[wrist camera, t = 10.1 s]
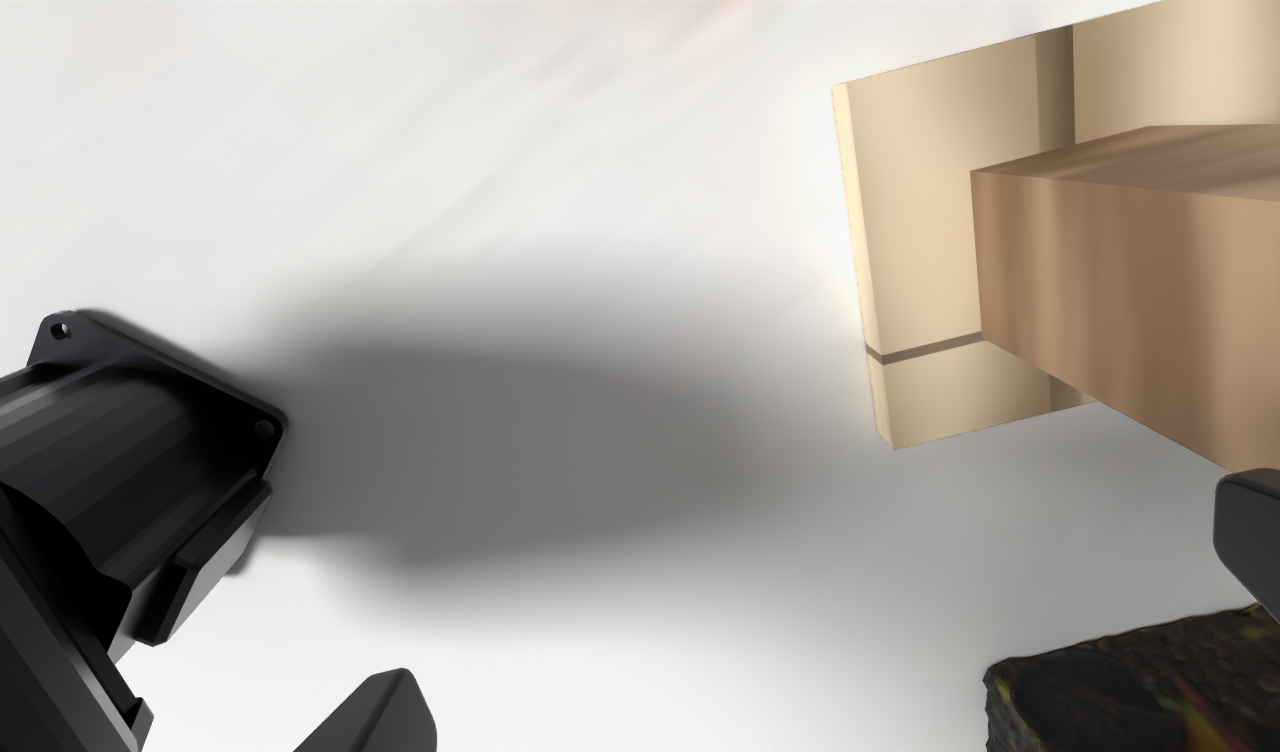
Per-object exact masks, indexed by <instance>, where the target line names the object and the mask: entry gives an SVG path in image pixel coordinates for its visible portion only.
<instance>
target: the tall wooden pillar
mask: <svg viewBox="0 0 1280 752" xmlns="http://www.w3.org/2000/svg"><path fill="white" fill-rule="evenodd" d="M970 181H971V194H972V208H973V221H974V235H975V249H976V262H977V276H978V289H979V303H980V316H981V330H982V338H983V339H985V340H987V341H989V342H991V343H992V344H994V345H996V346H998V347H1000V348H1002V349H1004V350H1005V351H1007V352H1009V353H1011V354H1013V355H1015V356H1017V357H1018V358H1020V359H1022V360H1024V361H1026V362H1028V363H1030V364H1031V365H1033V366H1035V367H1037V368H1039V369H1041V370H1043V371H1044V372H1046V373H1048V374H1050V375H1052V376H1054V377H1056V378H1058V379H1059V380H1061V381H1063V382H1065V383H1067V384H1069V385H1071V386H1072V387H1074V388H1076V389H1078V390H1080V391H1082V392H1084V393H1085V394H1087V395H1089V396H1091V397H1093V398H1095V399H1097V400H1098V401H1100V402H1102V403H1104V404H1106V405H1108V406H1110V407H1111V408H1113V409H1115V410H1117V411H1119V412H1121V413H1123V414H1124V415H1126V416H1128V417H1130V418H1132V419H1134V420H1136V421H1138V422H1139V423H1141V424H1143V425H1145V426H1147V427H1149V428H1151V429H1152V430H1154V431H1156V432H1158V433H1160V434H1162V435H1164V436H1165V437H1167V438H1169V439H1171V440H1173V441H1175V442H1177V443H1178V444H1180V445H1182V446H1184V447H1186V448H1188V449H1190V450H1191V451H1193V452H1195V453H1197V454H1199V455H1201V456H1203V457H1205V458H1206V459H1208V460H1210V461H1212V462H1214V463H1216V464H1218V465H1219V466H1221V467H1223V468H1225V469H1227V470H1229V471H1231V472H1232V473H1238V472H1242V471H1247V470H1251V469H1255V468H1273V469H1278V470H1280V124H1240V125H1174V126H1146V127H1142V128H1138V129H1134V130H1130V131H1126V132H1122V133H1118V134H1114V135H1110V136H1106V137H1102V138H1098V139H1094V140H1090V141H1086V142H1082V143H1078V144H1074V145H1071V146H1067V147H1063V148H1059V149H1055V150H1051V151H1047V152H1043V153H1039V154H1035V155H1031V156H1027V157H1023V158H1019V159H1015V160H1011V161H1007V162H1003V163H999V164H995V165H991V166H987V167H983V168H980V169H976V170H972V171H970Z"/></svg>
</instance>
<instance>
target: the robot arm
mask: <svg viewBox="0 0 1280 752" xmlns="http://www.w3.org/2000/svg"><path fill="white" fill-rule="evenodd" d="M62 324H64V325H66V326H67V327H68V328H69V329H70V331H71V337H69V336H68V335H66V334H65V333H64V331H63V329H62ZM262 420H265V421H268V422H270V423H271V424H272V425H273V427H274V431H269V430H267V429H265V428H264V427H263V425H262ZM288 429H289V421H288V418H287V417H286V415H285V414H284V413H283V412H282V411H280V410H279V409H277V408H275V407H273V406H271V405H269V404H267V403H264V402H262V401H260V400H258V399H256V398H254V397H252V396H250V395H248V394H246V393H244V392H242V391H240V390H237V389H235V388H233V387H231V386H229V385H227V384H225V383H223V382H221V381H219V380H217V379H215V378H212V377H210V376H208V375H206V374H204V373H202V372H200V371H198V370H196V369H194V368H192V367H190V366H188V365H185V364H183V363H181V362H179V361H177V360H175V359H173V358H171V357H169V356H167V355H165V354H163V353H160V352H158V351H156V350H154V349H152V348H150V347H148V346H146V345H144V344H142V343H140V342H138V341H135V340H133V339H131V338H129V337H127V336H125V335H123V334H121V333H119V332H117V331H115V330H113V329H111V328H108V327H106V326H104V325H102V324H100V323H98V322H96V321H94V320H92V319H90V318H88V317H86V316H83V315H81V314H79V313H77V312H74V311H70V310H68V311H60V312H57V313H54V314H51V315H49V316H47V317H45V318H44V319H43V321H42V322H41V325H40V328H39V330H38V333H37V336H36V339H35V342H34V345H33V348H32V350H31V353H30V356H29V359H28V362H27V365H26V368H23V369H21V370H18V371H16V372H13V373H11V374H8V375H6V376H3V377H1V378H0V752H141V751H142V749H143V746H144V743H145V740H146V738H147V735H148V732H149V730H150V727H151V724H152V722H153V719H154V715H153V713H152V712H151V710H150V709H149V707H148V706H147V704H146V702H145V701H144V699H143V698H141V697H137V698H135V696H134V694H133V693H132V691H131V690H130V688H129V687H128V685H127V684H126V682H125V680H124V679H123V677H122V676H121V674H120V673H119V671H118V670H117V668H116V666H115V664H116V663H117V662H118V661H119V659H120V658H121V657H122V656H123V655H124V654H125V653H126V652H127V651H128V650H129V649H130V648H131V646H132V645H133V644H134V643H135V642H136V641H138V642H141V643H144V644H146V645H149V646H151V647H154V646H157V645H160V644H162V643H165V642H167V641H168V640H169V639H170V638H171V636H172V635H173V634H174V633H175V632H176V631H177V629H178V628H179V627H180V626H181V625H182V624H183V622H184V621H185V620H186V619H187V618H188V617H189V615H190V614H191V613H192V612H193V611H194V610H195V609H196V607H197V606H198V605H199V604H200V603H201V602H202V600H203V599H204V598H205V597H206V596H207V595H208V593H209V592H210V591H211V590H212V589H213V588H214V586H215V585H216V584H217V583H218V582H219V581H220V579H221V578H222V577H223V576H224V575H225V574H226V572H227V571H228V570H229V569H230V568H231V567H232V565H233V564H234V563H235V562H236V561H237V560H238V558H239V557H240V556H241V555H242V554H243V552H244V550H245V548H246V546H247V544H248V542H249V540H250V538H251V536H252V534H253V532H254V530H255V528H256V526H257V524H258V522H259V520H260V518H261V516H262V514H263V512H264V510H265V508H266V506H267V503H268V501H269V499H270V497H271V495H272V493H273V490H272V487H271V483H270V482H269V481H267V480H265V478H266V476H267V473H268V471H269V469H270V467H271V465H272V463H273V461H274V459H275V457H276V455H277V453H278V451H279V449H280V447H281V445H282V443H283V440H284V438H285V436H286V434H287V432H288ZM1213 544H1214V548H1215V550H1216V553H1217V555H1218V557H1219V558H1220V560H1221V561H1222V563H1223V564H1224V565H1225V566H1226V568H1227V569H1228V570H1229V571H1230V572H1231V573H1232V574H1233V575H1234V576H1235V577H1236V578H1237V579H1238V580H1239V581H1240V582H1241V584H1242V585H1243V586H1244V587H1245V588H1246V589H1247V590H1248V591H1249V592H1250V593H1251V594H1252V595H1253V596H1254V597H1255V599H1256V600H1257V601H1258V602H1259V603H1260V604H1261V605H1262V606H1263V607H1264V608H1265V609H1266V610H1267V611H1268V612H1269V613H1270V615H1271V616H1272V617H1273V618H1274V619H1275V620H1276V621H1277V622H1278V623H1279V624H1280V470H1278V469H1273V468H1255V469H1251V470H1247V471H1242V472H1238V473H1234V474H1230V475H1227V476H1225V477H1223V478H1221V479H1220V481H1219V482H1218V484H1217V486H1216V490H1215V507H1214V525H1213ZM436 751H437V731H436V726H435V722H434V719H433V717H432V714H431V712H430V710H429V708H428V706H427V703H426V701H425V699H424V697H423V695H422V692H421V690H420V688H419V686H418V684H417V681H416V679H415V677H414V676H413V674H412V673H411V672H410V671H409V670H408V669H405V668H398V669H394V670H390V671H386V672H381V673H377V674H374V675H371V676H370V677H368V678H367V679H366V680H365V681H364V682H363V683H362V684H361V685H360V686H359V687H358V688H357V689H356V690H355V691H354V692H353V693H352V694H351V695H350V696H349V697H348V698H347V699H346V700H345V701H344V702H343V703H342V704H341V705H340V706H339V707H338V708H337V709H336V710H335V711H334V712H333V713H332V714H331V715H330V716H329V717H328V718H326V719H325V720H324V721H323V722H322V723H321V724H320V725H319V726H318V727H317V728H316V729H315V730H314V731H313V732H312V733H311V734H310V735H309V736H308V737H307V738H306V739H305V740H304V741H303V742H302V743H301V744H300V745H299V746H298V747H297V748H296V749H295V750H294V751H293V752H436Z"/></svg>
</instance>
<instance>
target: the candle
mask: <svg viewBox="0 0 1280 752" xmlns="http://www.w3.org/2000/svg"><path fill="white" fill-rule="evenodd" d="M983 682H984V684H985V686H986V687H987V689H988V691H987V702H986V707H985V711H986V713H987V715H988V718H989V721H988V732H989V739H988V741H987V743H986V747H987V752H1280V624H1279V623H1278V622H1277V621H1276V620H1275V619H1274V618H1273V617H1272V616H1271V615H1270V613H1269V612H1268V611H1267V610H1266V609H1265V608H1264V607H1263V606H1262V605H1258V604H1257V605H1255V606H1253V607H1250V608H1248V609H1245V610H1243V611H1240V612H1238V611H1230V612H1224V613H1221V614H1218V615H1215V616H1212V617H1209V618H1188V619H1185V620H1182V621H1179V622H1176V623H1173V624H1170V625H1165V626H1160V627H1154V628H1147V629H1140V630H1137V631H1134V632H1132V633H1129V634H1126V635H1123V636H1120V637H1116V638H1110V637H1105V638H1103V639H1100V640H1097V641H1095V642H1092V643H1086V644H1080V645H1077V646H1075V647H1072V648H1068V649H1064V650H1059V651H1055V652H1051V653H1047V654H1043V655H1038V656H1033V657H1028V658H1021V659H1009V660H1006V661H1004V662H1002V663H1000V664H998V665H995V666H993V667H991V668H989V669H988V670H987V672H986V674H985V676H984V678H983Z"/></svg>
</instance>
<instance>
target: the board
mask: <svg viewBox="0 0 1280 752" xmlns="http://www.w3.org/2000/svg"><path fill="white" fill-rule="evenodd" d="M831 93H832V100H833V107H834V115H835V122H836V129H837V137H838V144H839V151H840V159H841V166H842V173H843V181H844V188H845V196H846V203H847V210H848V218H849V225H850V232H851V240H852V247H853V254H854V262H855V269H856V276H857V284H858V291H859V298H860V306H861V313H862V320H863V328H864V335H865V342H866V350H867V357H868V364H869V372H870V379H871V386H872V394H873V401H874V409H875V416H876V423H877V431H878V434H879V435H880V436H881V437H882V438H883V439H884V440H885V441H886V442H887V443H888V445H889V446H890V447H891V448H892V449H893V450H896V449H900V448H905V447H909V446H913V445H917V444H921V443H925V442H929V441H934V440H938V439H942V438H946V437H950V436H954V435H959V434H963V433H967V432H971V431H975V430H979V429H983V428H988V427H992V426H996V425H1000V424H1004V423H1008V422H1012V421H1017V420H1021V419H1025V418H1029V417H1033V416H1037V415H1042V414H1046V413H1050V412H1054V411H1058V410H1062V409H1066V408H1071V407H1075V406H1079V405H1083V404H1087V403H1091V402H1095V401H1098V400H1097V399H1095V398H1093V397H1091V396H1089V395H1087V394H1085V393H1084V392H1082V391H1080V390H1078V389H1076V388H1074V387H1072V386H1071V385H1069V384H1067V383H1065V382H1063V381H1061V380H1059V379H1058V378H1056V377H1054V376H1052V375H1050V374H1048V373H1046V372H1044V371H1043V370H1041V369H1039V368H1037V367H1035V366H1033V365H1031V364H1030V363H1028V362H1026V361H1024V360H1022V359H1020V358H1018V357H1017V356H1015V355H1013V354H1011V353H1009V352H1007V351H1005V350H1004V349H1002V348H1000V347H998V346H996V345H994V344H992V343H991V342H989V341H987V340H985V339H983V338H982V330H981V316H980V303H979V289H978V276H977V262H976V249H975V235H974V221H973V208H972V194H971V181H970V171H972V170H976V169H980V168H983V167H987V166H991V165H995V164H999V163H1003V162H1007V161H1011V160H1015V159H1019V158H1023V157H1027V156H1031V155H1035V154H1039V153H1043V152H1047V151H1051V150H1055V149H1059V148H1063V147H1067V146H1071V145H1074V144H1078V143H1082V142H1086V141H1090V140H1094V139H1098V138H1102V137H1106V136H1110V135H1114V134H1118V133H1122V132H1126V131H1130V130H1134V129H1138V128H1142V127H1146V126H1174V125H1240V124H1280V0H1162V1H1158V2H1154V3H1151V4H1147V5H1143V6H1139V7H1135V8H1131V9H1127V10H1124V11H1120V12H1116V13H1112V14H1108V15H1104V16H1100V17H1097V18H1093V19H1089V20H1085V21H1081V22H1077V23H1073V24H1070V25H1066V26H1062V27H1058V28H1054V29H1050V30H1046V31H1043V32H1039V33H1035V34H1031V35H1027V36H1023V37H1019V38H1016V39H1012V40H1008V41H1004V42H1000V43H996V44H992V45H989V46H985V47H981V48H977V49H973V50H969V51H965V52H962V53H958V54H954V55H950V56H946V57H942V58H938V59H935V60H931V61H927V62H923V63H919V64H915V65H911V66H908V67H904V68H900V69H896V70H892V71H888V72H884V73H881V74H877V75H873V76H869V77H865V78H861V79H857V80H853V81H850V82H846V83H842V84H838V85H834V86H831Z"/></svg>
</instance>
